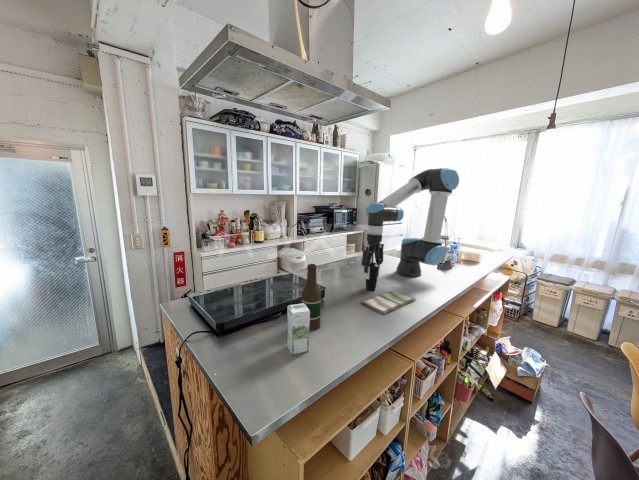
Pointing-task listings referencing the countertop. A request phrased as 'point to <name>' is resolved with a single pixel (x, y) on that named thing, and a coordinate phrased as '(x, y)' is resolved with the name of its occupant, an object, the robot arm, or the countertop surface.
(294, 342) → the syrup box
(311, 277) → the beer bottle
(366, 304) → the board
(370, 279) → the drinking cup
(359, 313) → the countertop surface
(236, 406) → the countertop surface
